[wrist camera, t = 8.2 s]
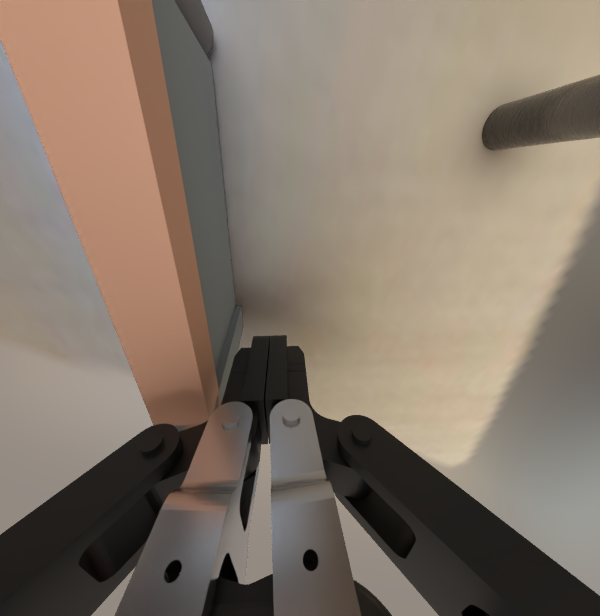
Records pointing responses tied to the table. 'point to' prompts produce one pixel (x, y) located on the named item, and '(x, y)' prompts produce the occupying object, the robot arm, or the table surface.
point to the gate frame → (547, 117)
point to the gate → (139, 180)
